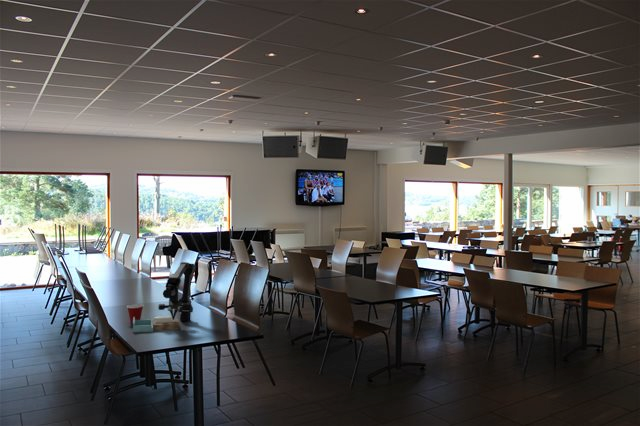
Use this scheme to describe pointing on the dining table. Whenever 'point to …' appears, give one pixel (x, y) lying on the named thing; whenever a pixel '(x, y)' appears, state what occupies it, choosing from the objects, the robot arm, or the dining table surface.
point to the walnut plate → (166, 325)
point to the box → (142, 325)
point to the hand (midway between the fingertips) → (173, 319)
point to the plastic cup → (135, 311)
